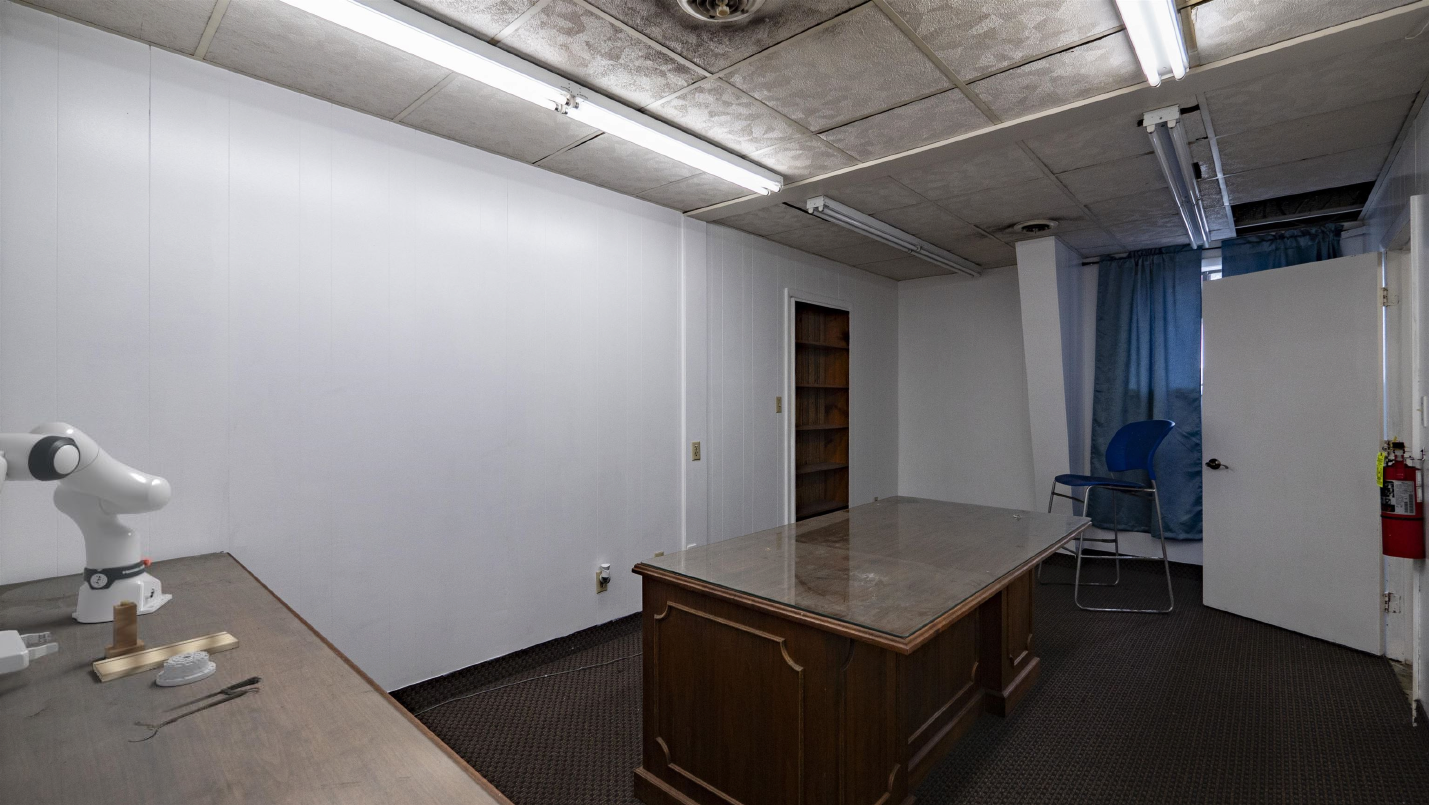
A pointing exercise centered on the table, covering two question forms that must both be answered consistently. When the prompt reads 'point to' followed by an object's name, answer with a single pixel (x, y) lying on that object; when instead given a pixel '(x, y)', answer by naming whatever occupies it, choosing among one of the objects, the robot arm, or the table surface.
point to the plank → (161, 655)
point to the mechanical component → (186, 669)
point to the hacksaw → (226, 690)
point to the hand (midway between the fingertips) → (54, 641)
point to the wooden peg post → (124, 631)
